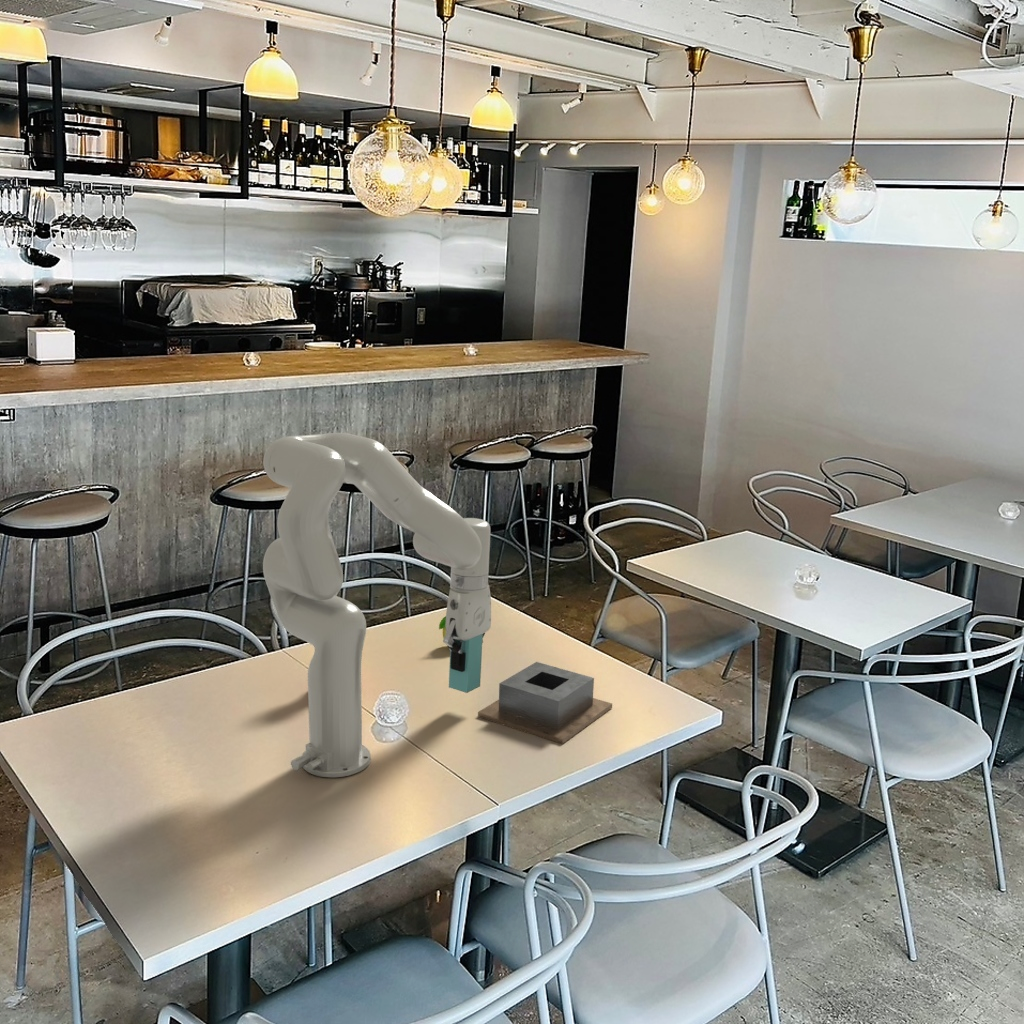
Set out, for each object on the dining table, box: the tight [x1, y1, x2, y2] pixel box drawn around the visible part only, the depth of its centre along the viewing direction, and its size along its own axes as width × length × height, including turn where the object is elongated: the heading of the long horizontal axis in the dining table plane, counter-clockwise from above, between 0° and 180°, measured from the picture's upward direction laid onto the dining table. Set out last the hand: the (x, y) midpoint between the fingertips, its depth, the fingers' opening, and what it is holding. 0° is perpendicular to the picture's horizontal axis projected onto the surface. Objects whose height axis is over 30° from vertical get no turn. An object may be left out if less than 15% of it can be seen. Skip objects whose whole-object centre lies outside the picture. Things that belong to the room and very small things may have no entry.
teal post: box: [448, 633, 484, 694], centre depth 215 cm, size 5×5×12 cm
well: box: [477, 661, 613, 745], centre depth 217 cm, size 20×20×7 cm
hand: (465, 665), depth 216 cm, fingers closed on teal post, 4 cm apart
